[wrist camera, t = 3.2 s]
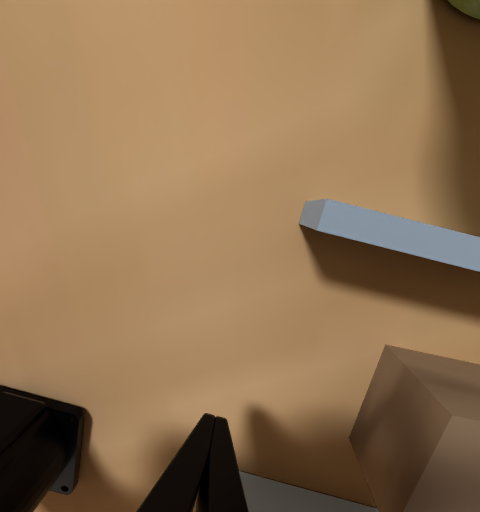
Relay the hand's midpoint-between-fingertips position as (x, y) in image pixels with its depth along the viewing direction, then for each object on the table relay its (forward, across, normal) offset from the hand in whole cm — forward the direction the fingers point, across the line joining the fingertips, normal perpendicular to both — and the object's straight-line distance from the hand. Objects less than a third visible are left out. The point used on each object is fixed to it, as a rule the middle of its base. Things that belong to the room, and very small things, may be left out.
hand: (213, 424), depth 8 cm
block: (+4, -11, 0) cm, 11 cm away
